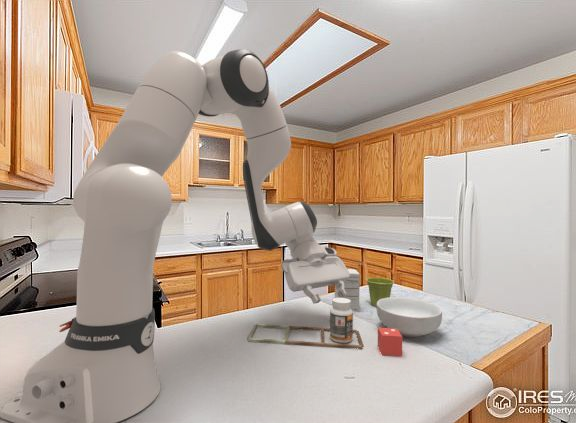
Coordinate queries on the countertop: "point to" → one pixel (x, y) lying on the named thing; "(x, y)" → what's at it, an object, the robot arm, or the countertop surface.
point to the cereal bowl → (409, 315)
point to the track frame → (302, 341)
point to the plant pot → (379, 289)
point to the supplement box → (351, 289)
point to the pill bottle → (341, 320)
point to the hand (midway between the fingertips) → (330, 299)
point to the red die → (390, 341)
